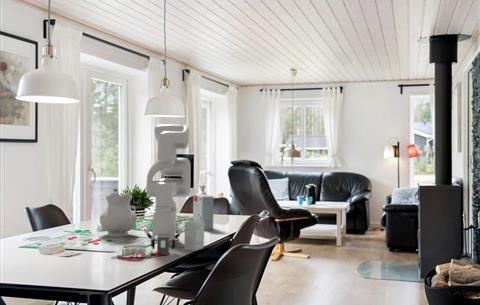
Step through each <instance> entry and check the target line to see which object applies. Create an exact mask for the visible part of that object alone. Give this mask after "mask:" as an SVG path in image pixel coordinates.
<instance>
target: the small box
mask: <svg viewBox="0 0 480 305" xmlns="http://www.w3.org/2000/svg"><path fill="white" fill-rule="evenodd" d="M183 246H184V250H185V251H195V252H196V251H198V250H202V249H204V248H205V230H204V221H199V220H193V219H192V220H187V221H184V245H183Z"/></svg>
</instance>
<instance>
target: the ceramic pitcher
mask: <svg viewBox="0 0 480 305" xmlns="http://www.w3.org/2000/svg"><path fill="white" fill-rule="evenodd" d="M105 198H106V199H105V200H106V201H107V208H106V209H105V210H104V211H102V213H101V214H100V217H99V223H100V226H101V228H102V229H103V230H104V231H106V232H107V234H106V236H107V237H109V238H121V237H126V236H127V237H128V236H130V234H129V232H130V231H131V230H133V229H134V227H135V226H136V223H137V220H138V216H137V213H136V212H134V211H133V210H132V209H131V206H130V204H131V200H132V198H133V195H132V194H131V193H130V192H126V193H125V194H124V195H120V193H119V190H118V189H117V188H113V192H110V194H109V195H108V194H107V195H105Z"/></svg>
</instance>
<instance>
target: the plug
mask: <svg viewBox="0 0 480 305" xmlns="http://www.w3.org/2000/svg"><path fill="white" fill-rule="evenodd" d="M156 241H157V243H156V244H157V246H156V247H157V248H156V249H157V250H156V251H157V253H159V254H158V255H169V254H170V241H169V237H158V240H156ZM157 253H156V254H157ZM160 253H161V254H160Z"/></svg>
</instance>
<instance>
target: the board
mask: <svg viewBox="0 0 480 305" xmlns="http://www.w3.org/2000/svg"><path fill="white" fill-rule="evenodd" d="M152 253H153V248H146V244H126V247H124V248H120V250H119V251H118V253H117V254H116V259H119V258H118V257H123V256H129V255H135V254H136V255H138V254H142V255H143V256H144V257H145V258H144V259H150V258H151V257H152Z"/></svg>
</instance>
